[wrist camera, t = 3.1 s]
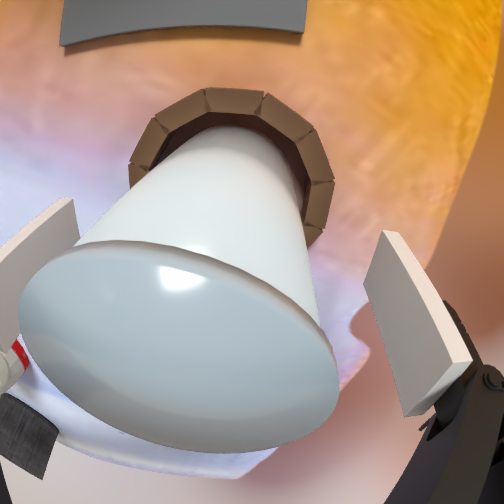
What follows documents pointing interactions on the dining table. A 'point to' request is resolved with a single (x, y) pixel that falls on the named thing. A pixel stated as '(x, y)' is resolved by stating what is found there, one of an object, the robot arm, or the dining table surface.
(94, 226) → the white cylindrical canister
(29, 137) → the dining table surface
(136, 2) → the mat
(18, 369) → the white chicken figure
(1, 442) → the planter
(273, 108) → the brown segmented ring
